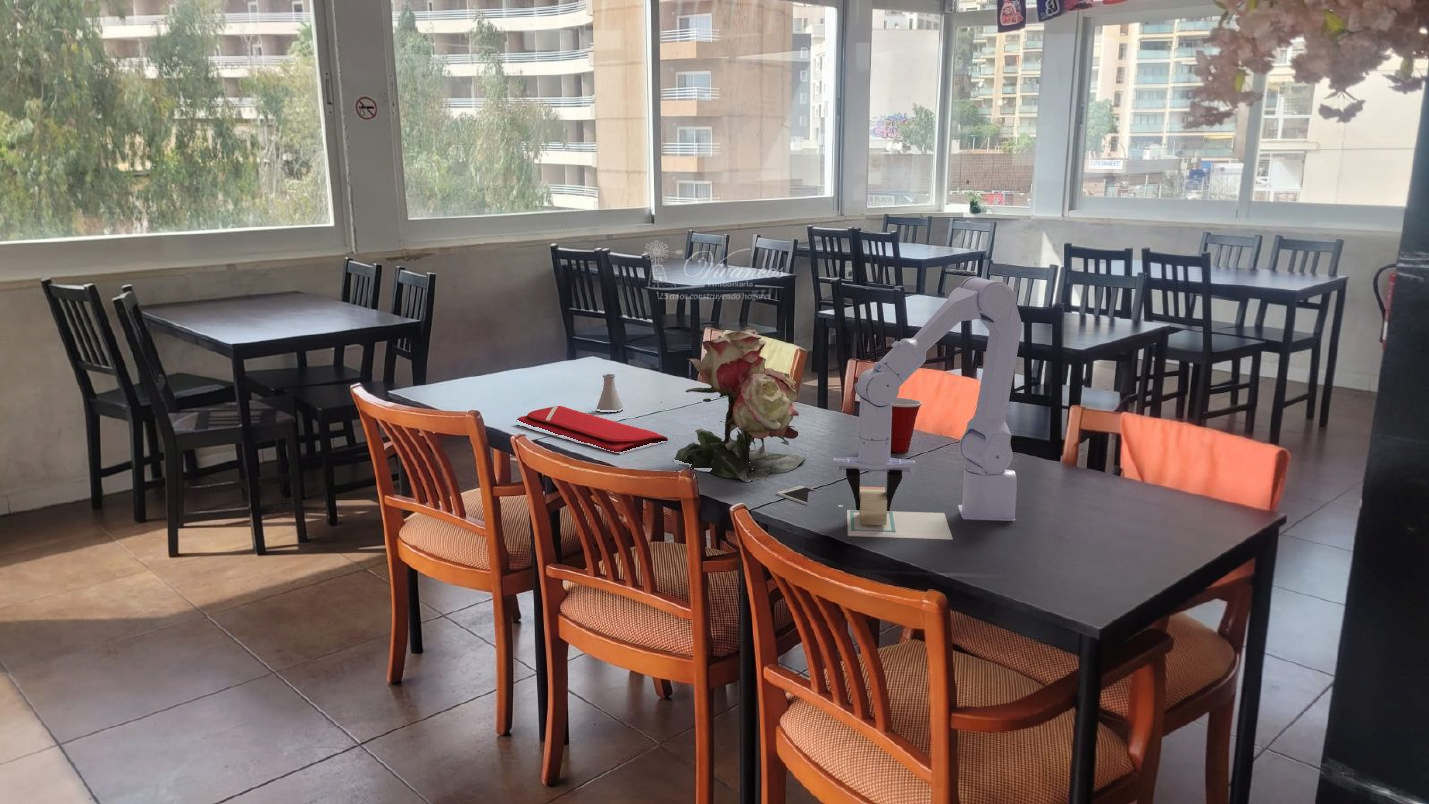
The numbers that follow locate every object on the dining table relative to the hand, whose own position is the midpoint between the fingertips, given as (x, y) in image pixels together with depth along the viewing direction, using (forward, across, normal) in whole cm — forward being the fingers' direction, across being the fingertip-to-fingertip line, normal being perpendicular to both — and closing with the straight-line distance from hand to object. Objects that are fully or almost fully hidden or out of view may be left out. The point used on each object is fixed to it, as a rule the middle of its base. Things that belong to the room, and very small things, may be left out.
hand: (872, 509), depth 182 cm
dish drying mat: (+4, +67, -60) cm, 90 cm away
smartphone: (+3, +10, -13) cm, 17 cm away
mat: (+3, -4, +1) cm, 5 cm away
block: (+2, 0, 0) cm, 2 cm away
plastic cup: (+3, -8, -52) cm, 53 cm away
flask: (+3, +68, -85) cm, 109 cm away
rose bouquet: (+3, +26, -38) cm, 46 cm away
